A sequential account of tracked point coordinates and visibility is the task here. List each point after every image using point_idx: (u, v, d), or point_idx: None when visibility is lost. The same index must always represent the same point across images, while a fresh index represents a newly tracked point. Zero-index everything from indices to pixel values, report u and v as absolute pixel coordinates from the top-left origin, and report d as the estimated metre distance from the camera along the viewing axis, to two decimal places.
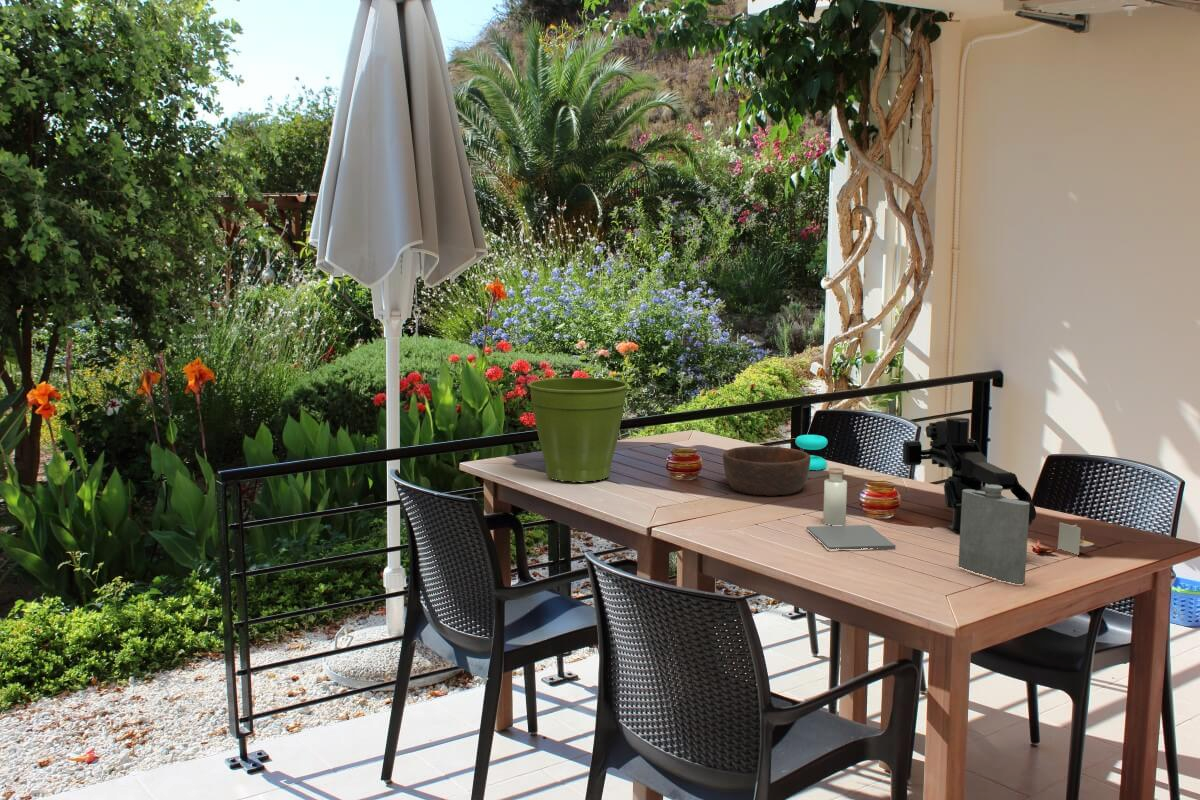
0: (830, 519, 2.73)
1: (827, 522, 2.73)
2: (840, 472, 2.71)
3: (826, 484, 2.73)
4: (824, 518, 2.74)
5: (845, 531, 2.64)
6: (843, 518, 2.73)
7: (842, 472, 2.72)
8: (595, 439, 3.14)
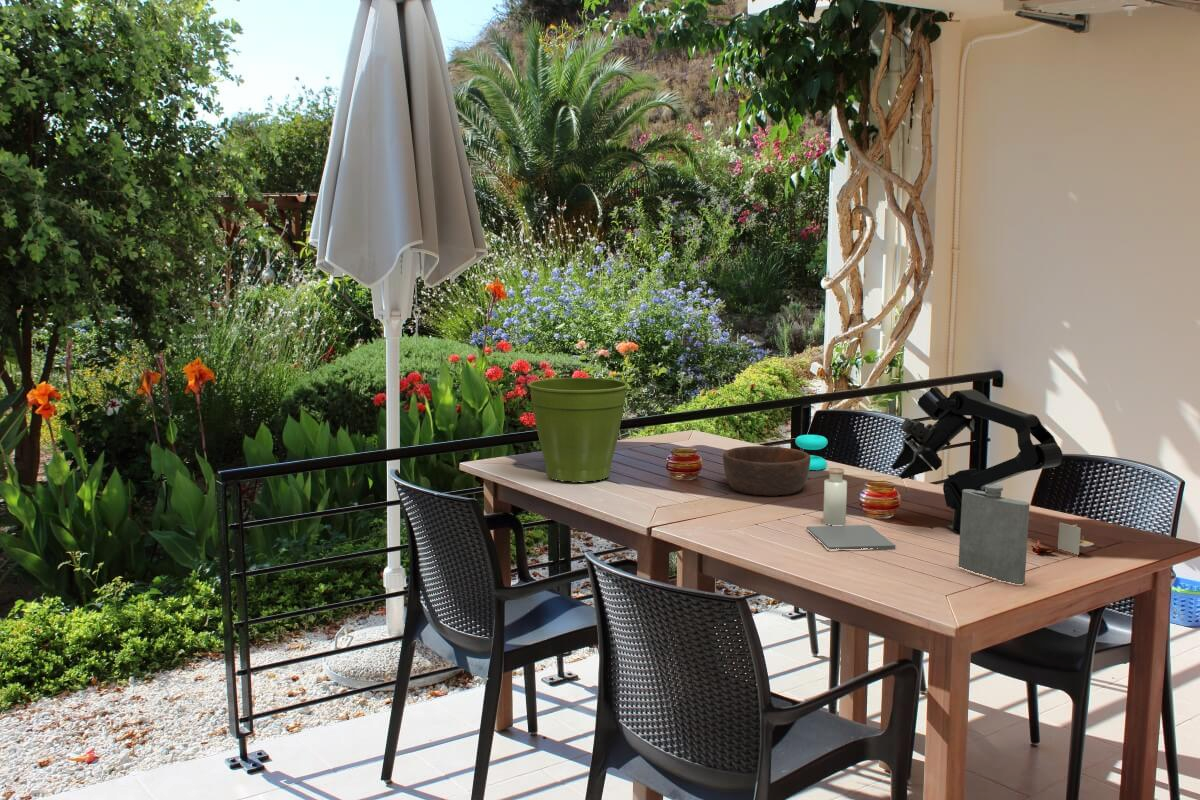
0: (830, 519, 2.73)
1: (827, 522, 2.73)
2: (840, 472, 2.71)
3: (826, 484, 2.73)
4: (824, 518, 2.74)
5: (845, 531, 2.64)
6: (843, 518, 2.73)
7: (842, 472, 2.72)
8: (595, 439, 3.14)
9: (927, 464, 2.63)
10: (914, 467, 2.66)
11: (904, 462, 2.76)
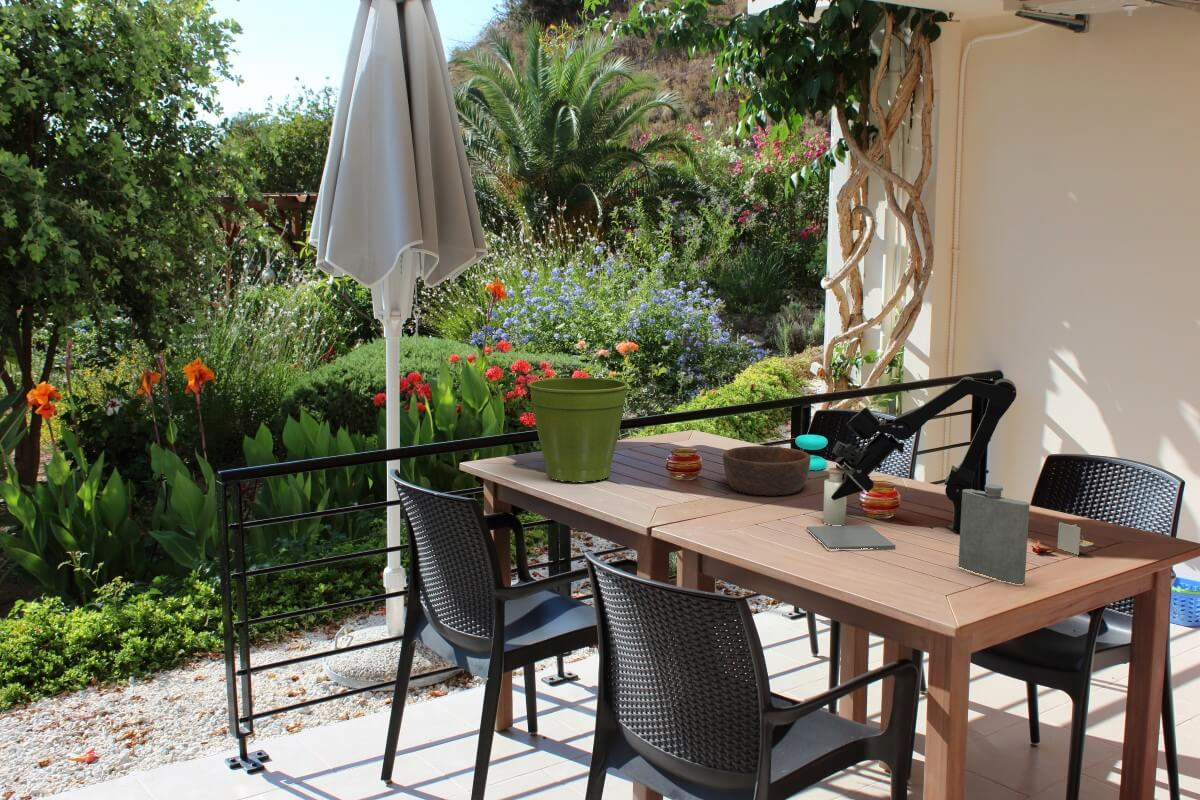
0: (830, 519, 2.73)
1: (827, 522, 2.73)
2: (840, 472, 2.71)
3: (826, 484, 2.73)
4: (824, 518, 2.74)
5: (845, 531, 2.64)
6: (843, 518, 2.73)
7: (842, 472, 2.72)
8: (595, 439, 3.14)
9: (857, 485, 2.67)
10: (845, 488, 2.70)
11: None
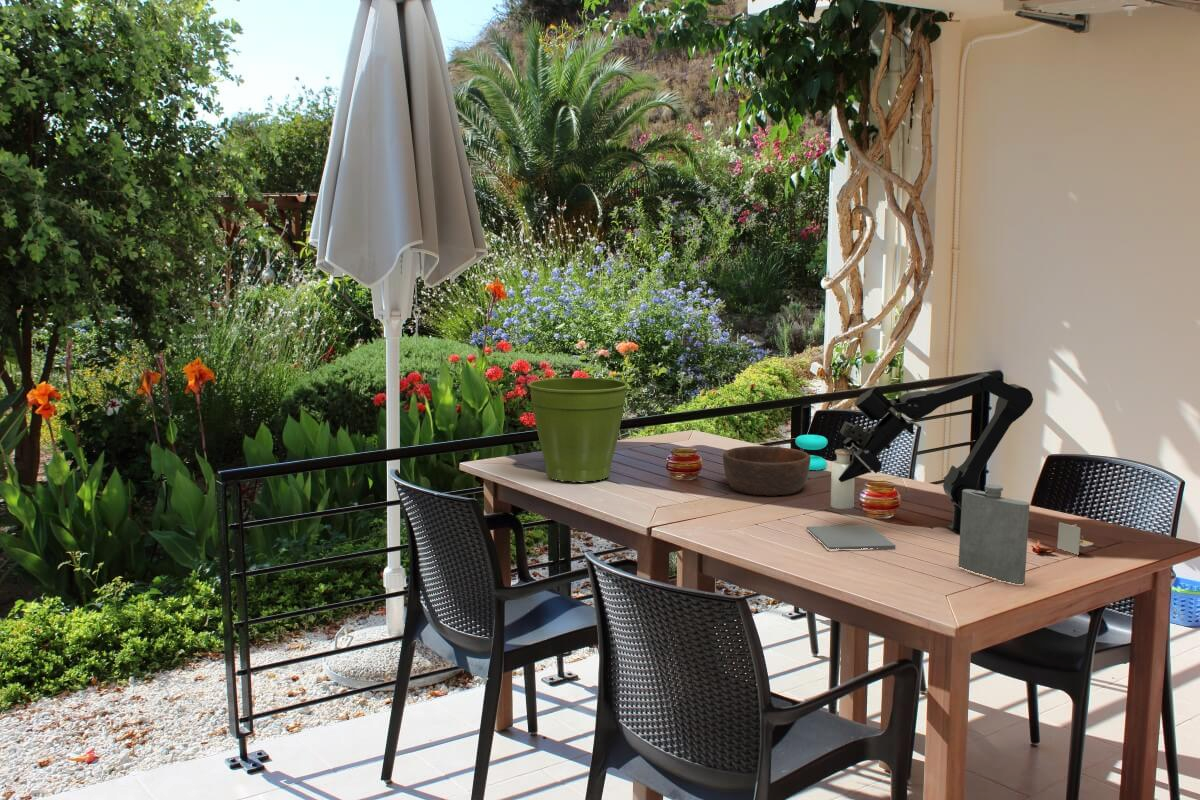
0: (837, 501, 2.65)
1: (834, 505, 2.66)
2: (847, 453, 2.64)
3: (833, 465, 2.65)
4: (831, 501, 2.67)
5: (845, 531, 2.64)
6: (851, 500, 2.65)
7: (849, 453, 2.64)
8: (595, 439, 3.14)
9: (865, 466, 2.60)
10: (853, 469, 2.62)
11: None
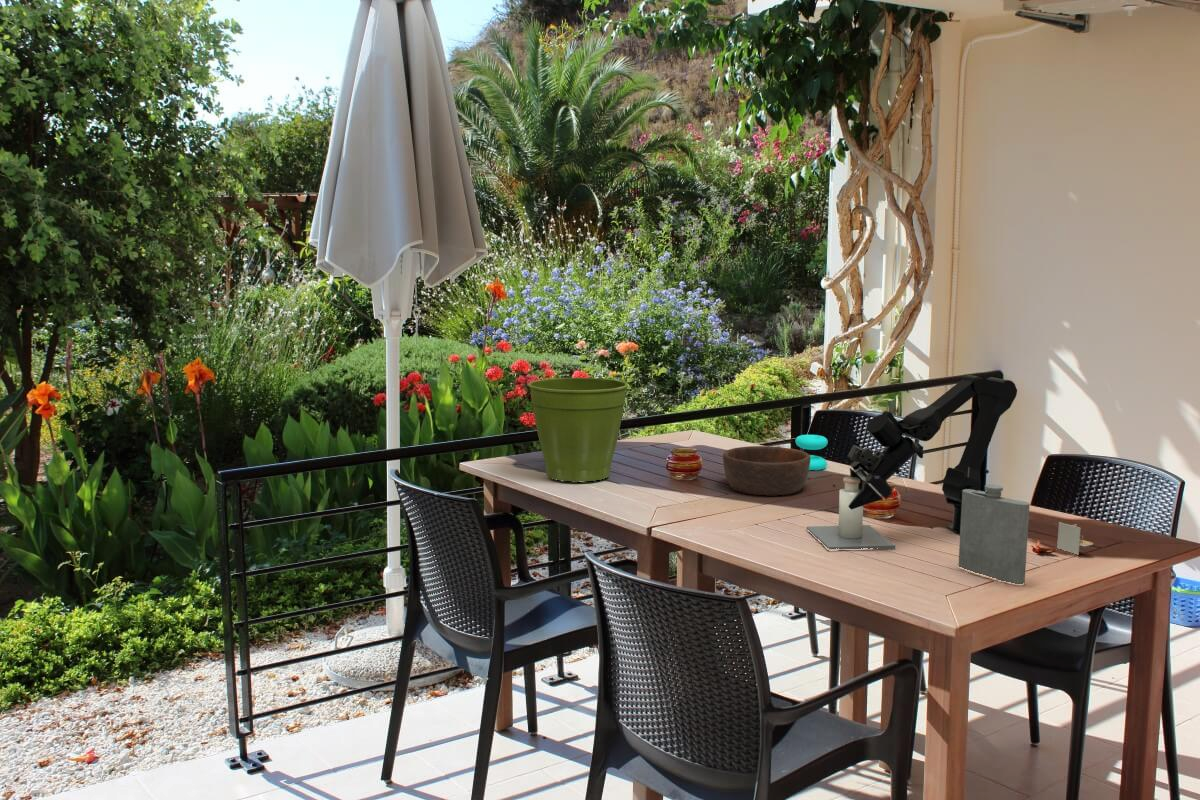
0: (846, 531, 2.58)
1: (843, 534, 2.58)
2: (856, 481, 2.56)
3: (841, 494, 2.58)
4: (839, 530, 2.59)
5: None
6: (860, 530, 2.58)
7: (858, 481, 2.57)
8: (595, 439, 3.14)
9: (877, 493, 2.50)
10: (863, 496, 2.53)
11: None
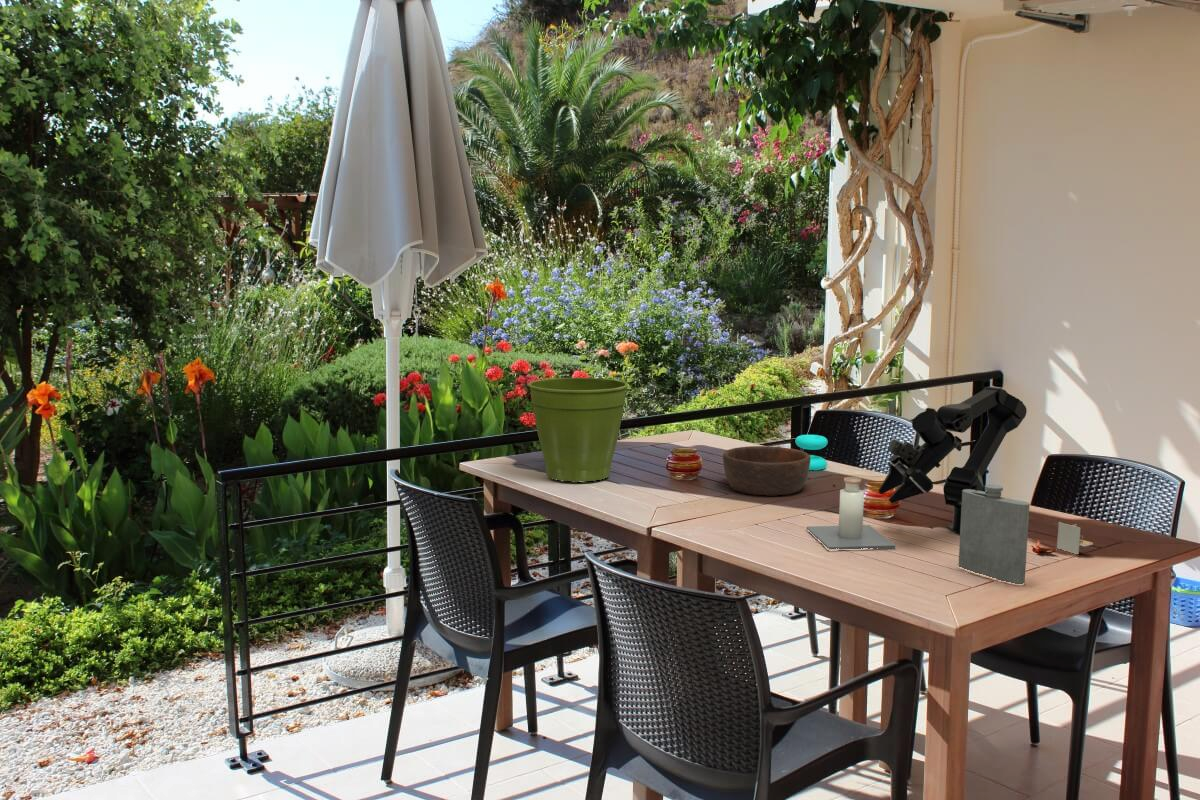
0: (846, 531, 2.58)
1: (843, 534, 2.58)
2: (857, 482, 2.56)
3: (842, 494, 2.58)
4: (839, 530, 2.59)
5: None
6: (860, 530, 2.58)
7: (859, 482, 2.57)
8: (595, 439, 3.14)
9: (918, 487, 2.50)
10: (904, 490, 2.53)
11: (891, 486, 2.63)
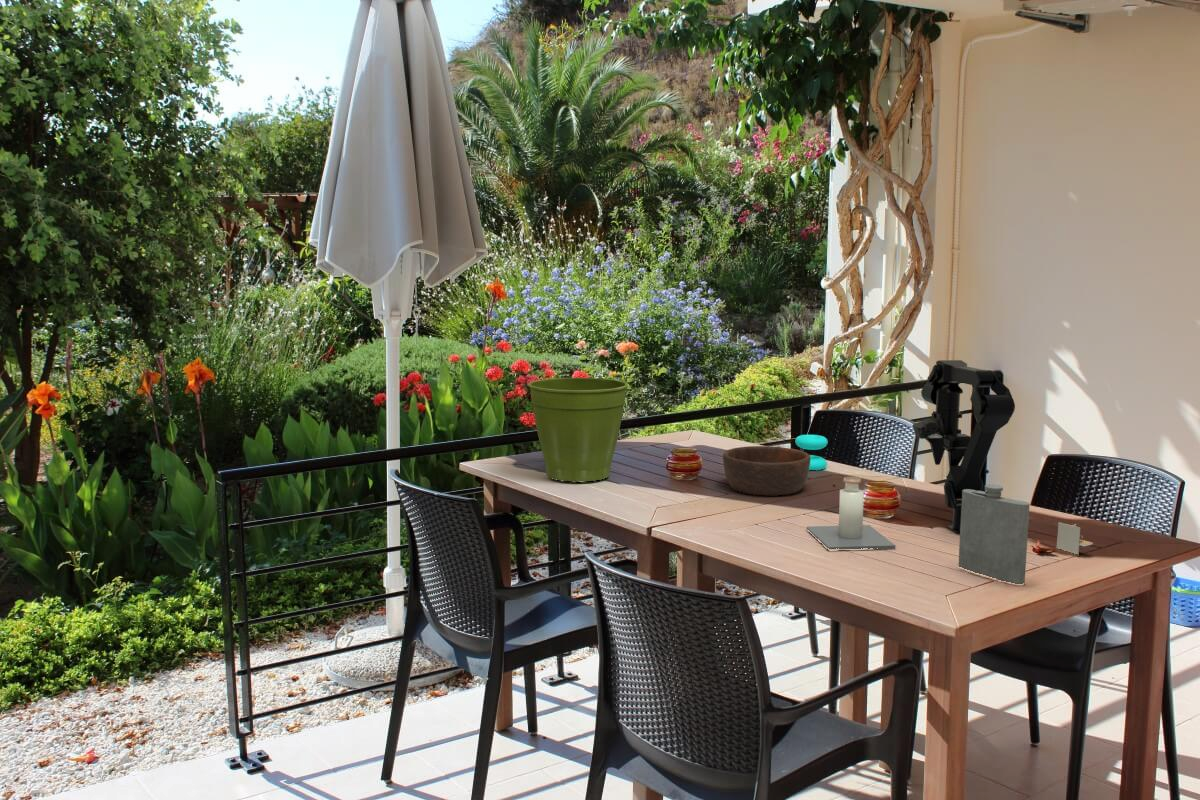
0: (846, 531, 2.58)
1: (843, 534, 2.58)
2: (856, 481, 2.56)
3: (842, 494, 2.58)
4: (839, 530, 2.59)
5: None
6: (860, 530, 2.58)
7: (859, 481, 2.57)
8: (595, 439, 3.14)
9: (962, 448, 2.70)
10: (954, 457, 2.73)
11: (941, 452, 2.83)
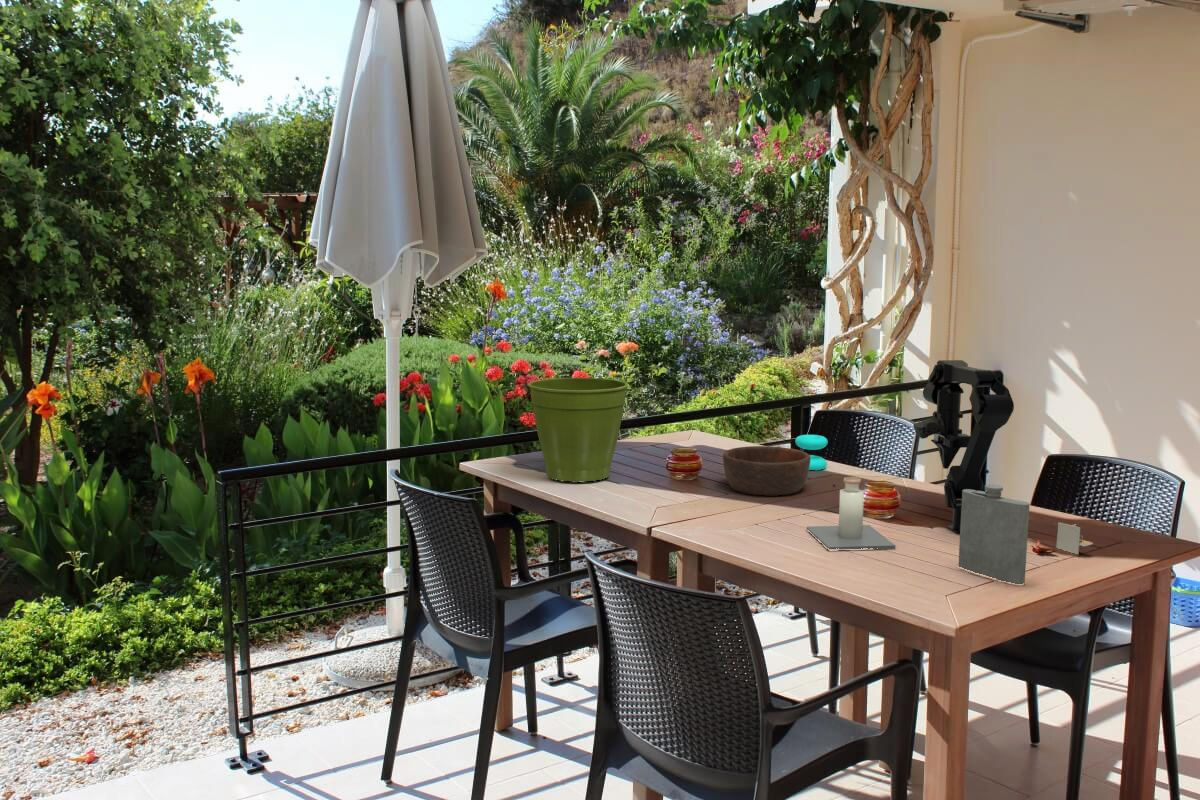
0: (846, 531, 2.58)
1: (843, 534, 2.58)
2: (857, 482, 2.56)
3: (842, 494, 2.57)
4: (839, 530, 2.59)
5: None
6: (860, 530, 2.58)
7: (859, 482, 2.57)
8: (595, 439, 3.14)
9: None
10: (948, 453, 2.77)
11: None
